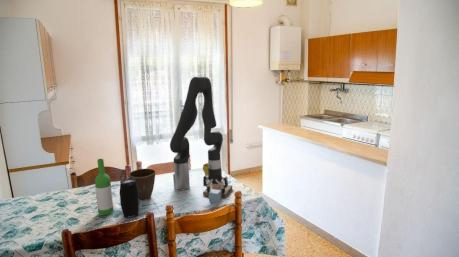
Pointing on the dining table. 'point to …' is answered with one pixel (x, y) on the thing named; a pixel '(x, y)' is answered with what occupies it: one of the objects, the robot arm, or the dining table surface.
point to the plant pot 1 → (144, 182)
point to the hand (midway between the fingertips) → (216, 193)
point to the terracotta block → (217, 186)
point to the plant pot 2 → (206, 169)
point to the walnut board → (227, 191)
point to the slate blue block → (214, 195)
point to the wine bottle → (103, 190)
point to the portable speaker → (129, 197)
